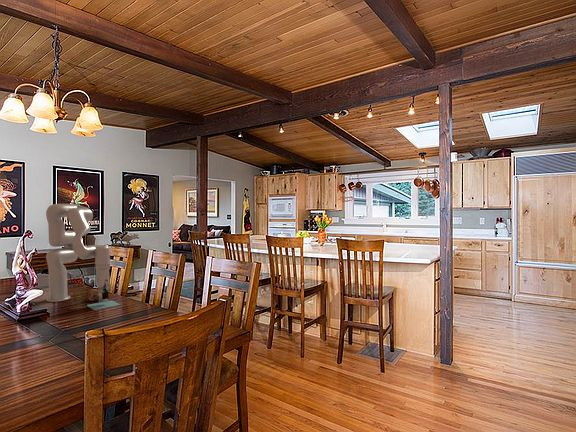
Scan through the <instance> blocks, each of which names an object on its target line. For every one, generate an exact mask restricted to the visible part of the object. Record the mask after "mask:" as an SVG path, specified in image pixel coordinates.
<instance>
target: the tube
mask: <svg viewBox="0 0 576 432" xmlns="http://www.w3.org/2000/svg"><path fill="white" fill-rule="evenodd" d="M103 287H105V286H103ZM97 288H98V289H97V290H98V291H99V296H98V303H100V302H107V301H109V298H108V299H104V300H103V299H102V293H103V291H102V288H100V287H98V286H97ZM104 289H105V288H104Z"/></svg>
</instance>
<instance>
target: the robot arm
mask: <svg viewBox="0 0 576 432" xmlns="http://www.w3.org/2000/svg"><path fill="white" fill-rule="evenodd" d="M93 213H94V212H93V211H92V210H91V209H90V208H89V207H86V206H83V205H80V204H76V203H54V204H51V205H49V206H48V207H47V209H46V212H45V215H46V220H47V224H48V225H47V226H48V229H47V230H48V243H49V245H50V246H51V247H55V249H51V250H49V251H47V253H46V255H45V259H46V263H47V268H48V297H47V298H46V300H45V301H46V302H48V303H55V302H56V303H57V302H62V301H68V300H70V299H71V295H68V270H67V268H66V266H65V265H64V264H68V263H74V262H76V261H77V260H78V258H79V259H80V260H89V259H95V260H94V262H95V287H97V288H98V287H100V288H102V291H103V293H102V299H103V300H104V299H108V300H109V293H108V288H109V286H111V285H110V284H111V283H110V281H111V280H110V270H111V253H110V246H108V245H101V244H93V245H92V244H91V245H84V243H83V241H82V237H83V236H86V235H87V234H89V232H90V231H91V230H92V229H91V226H90V224H89V222H90V221H92V220H93V219H94V214H93ZM62 218H67V221H68V222H69V224H70V226H71V228H72V230H66V225H65V222H64V221H63V219H62ZM56 247H57V248H56ZM58 247H61V248H58ZM62 247H63V248H62ZM103 286H105V287H103ZM104 288H105V289H104Z"/></svg>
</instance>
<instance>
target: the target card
mask: <svg viewBox="0 0 576 432" xmlns="http://www.w3.org/2000/svg"><path fill="white" fill-rule="evenodd" d="M86 306H87V307H88V308H90V309H91V310H93V311H98V310H103V309H109V308H113V307H118V306H121V303H118V302H116V301H114V300H108V301H107V302H95V303H90V304H86Z"/></svg>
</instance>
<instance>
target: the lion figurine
mask: <svg viewBox="0 0 576 432" xmlns="http://www.w3.org/2000/svg"><path fill="white" fill-rule="evenodd" d="M111 290H112V287H111V285H110V286H109V288H108V294H109V293H110V292H111ZM94 295H95V296H98V297H99V291H98V289H96V288H95V289H94V288H92V289H91V288H90V290H89V291H88V294H87V297H86V298H85V299H84V301H87V299H88V300H91V302H92V301H94V299H93V296H94Z"/></svg>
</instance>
